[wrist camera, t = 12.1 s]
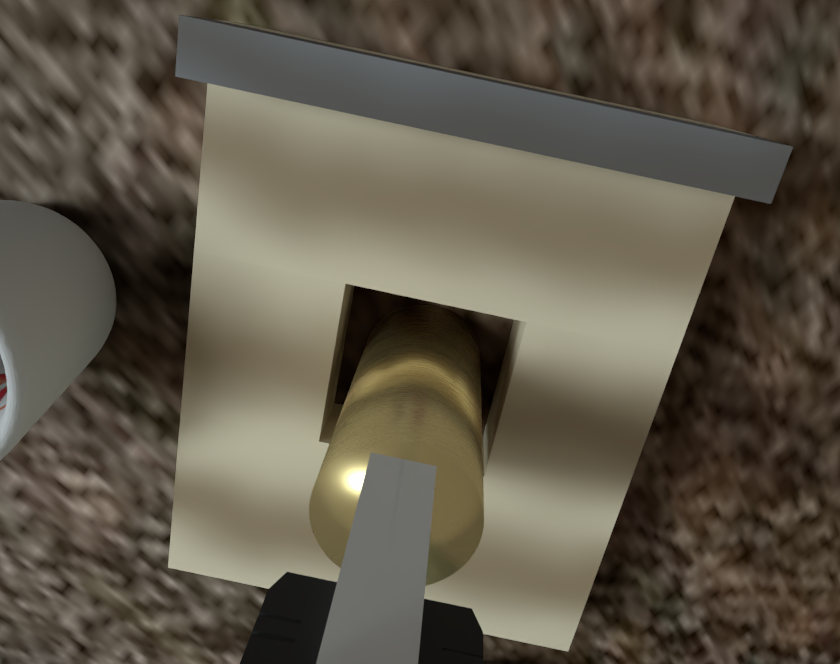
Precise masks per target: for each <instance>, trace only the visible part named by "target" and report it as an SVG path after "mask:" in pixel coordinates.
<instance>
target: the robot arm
mask: <svg viewBox="0 0 840 664" xmlns="http://www.w3.org/2000/svg"><path fill="white" fill-rule="evenodd" d="M436 468H437V466H434V465H429V464H424V463H419V462H415V461H410V460H405V459H400V458H396V457H391V456H386V455H381V454H377V453H372V452H371V454H370V458H369V461H368V465H367V469H366V473H365V477H364V481H363V485H362V488H361V492H360V496H359V500H358V504H357V508H356V512H355V515H354V519H353V523H352V527H351V531H350V535H349V539H348V542H347V546H346V550H345V554H344V558H343V562H342V566H341V569H340V573H339V577H338V581H337V582H334V581H329V580H324V579H319V578H315V577H310V576H305V575H300V574H296V573H291V572H286V573H285V574H284V575H283V576H282V577H281V578H280V579H279V580H278V581H277V582H275V583H274V584H273V585H272V586H271V587H270V588H269V589H268V592H267V594H266V597H265V600H264V602H263V605H262V607H261V610H260V614H259V616H258V618H257V621H256V623H255V626H254V628H253V632H252V635H251V636H250V639H249V641H248V644H247V647H246V649H245V652H244V654H243V657H242V660H241V662H240V664H483V631H482V629H481V627H480V625H479V623H478V620H477V618H476V616H475V614H474V612H473V610H472V609H471V608H467V607H462V606H457V605H452V604H448V603H443V602H438V601H433V600H428V599H424V595H425V584H426V574H427V563H428V552H429V542H430V531H431V521H432V510H433V499H434V489H435V478H436Z"/></svg>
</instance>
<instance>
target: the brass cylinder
mask: <svg viewBox="0 0 840 664" xmlns="http://www.w3.org/2000/svg"><path fill="white" fill-rule="evenodd" d="M371 452H372V453H377V454H381V455H386V456H391V457H396V458H400V459H405V460H410V461H415V462H419V463H424V464H429V465H434V466H437V468H436V478H435V489H434V499H433V510H432V521H431V531H430V542H429V552H428V563H427V574H426V584H425V586H427V585H430V584H434V583H436V582H439V581H441V580H444V579H445V578H447V577H449V576H451V575H453V574H454V573H455V572H457V571H458V570H459V569H461V568H462V567H463V566H464V565H465V564H466V563H467V562H468V561H469V559H470V558H471V557H472V555H473V554H474V553H475V551H476V549H477V547H478V545H479V543H480V540H481V537H482V533H483V528H484V491H483V450H482V409H481V368H480V350H479V346H478V342H477V340H476V338H475V335H474V334H473V332H472V330H471V329H470V328H469V326H468V325H467V324H466V323H465V322H464V321H463V320H462V319H461V318H460V317H458V316H457V315H456V314H454V313H452V312H451V311H449V310H447V309H444V308H442V307H438V306H435V305H428V304H414V305H408V306H403V307H401V308H398V309H396V310H394V311H392V312H390V313H388V314H387V315H386V316H384V317H383V318H382V319H381V320H380V321H379V322H378V323H377V324H376V325H375V327H374V328H373V330H372V331H371V333H370V335H369V337H368V340H367V343H366V345H365V348H364V351H363V353H362V356H361V359H360V362H359V364H358V367H357V370H356V373H355V375H354V378H353V381H352V383H351V386H350V389H349V392H348V394H347V397H346V400H345V403H344V405H343V408H342V411H341V413H340V416H339V419H338V422H337V424H336V427H335V430H334V433H333V435H332V438H331V441H330V443H329V446H328V449H327V452H326V454H325V457H324V460H323V463H322V465H321V468H320V471H319V473H318V476H317V479H316V482H315V484H314V487H313V490H312V493H311V497H310V503H309V519H310V524H311V528H312V531H313V534H314V536H315V539H316V541H317V542H318V544H319V546H320V548H321V549H322V550H323V552H324V553H325V554H326V556H327V557H328V558H329V559H330V560H331V561H332V562H333V563H334V564H336V565H337V566H338V567H339V568H340V569H341V566H342V562H343V558H344V554H345V550H346V546H347V542H348V539H349V535H350V531H351V527H352V523H353V519H354V515H355V512H356V508H357V504H358V500H359V496H360V492H361V488H362V485H363V481H364V477H365V473H366V469H367V465H368V461H369V458H370V454H371Z"/></svg>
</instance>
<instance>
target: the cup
mask: <svg viewBox="0 0 840 664" xmlns="http://www.w3.org/2000/svg"><path fill="white" fill-rule="evenodd" d="M115 313H116V289H115V284H114V279H113V276H112V273H111V270H110V268H109V265H108V263H107V261H106V259H105V258H104V256H103V254H102V252H101V251H100V249H99V248H98V247H97V245H96V244H95V243H94V242H93V240H92V239H91V238H90V237H89V236H88V235H87V234H86V233H85V232H84V231H83V230H82V229H81V228H80V227H78V226H77V225H76V224H75V223H73V222H72V221H70V220H69V219H67V218H66V217H64V216H62V215H61V214H59V213H57V212H55V211H53V210H50V209H48V208H45V207H42V206H39V205H35V204H32V203H28V202H21V201H14V200H0V460H1V459H2V458H3V457H4V456H6V455H7V454H8V453H9V452H10V451H11V450H12V449H13V447H14V446H15V445H16V444H17V443H18V442H19V441H20V440H21V439H22V437H23V436H24V435H25V434H26V433H27V432H28V431H29V430H30V429H31V427H32V426H33V425H34V424H35V423H36V422H37V421H38V420H39V419H40V417H41V416H42V415H43V414H44V413H45V412H46V411H47V410H48V409H49V407H50V406H51V405H52V404H53V403H54V402H55V401H56V400H57V399H58V397H59V396H60V395H61V394H62V393H63V392H64V391H65V390H66V389H67V387H68V386H69V385H70V384H71V383H72V382H73V381H74V380H75V379H76V377H77V376H78V375H79V374H80V373H81V372H82V371H83V370H84V369H85V367H86V366H87V365H88V364H89V363H90V362H91V361H92V360H93V358H94V357H95V356H96V355H97V353H98V352H99V351H100V349H101V348H102V346H103V345H104V343H105V341H106V339H107V338H108V336H109V333H110V331H111V329H112V326H113V323H114V318H115Z"/></svg>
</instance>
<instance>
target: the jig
mask: <svg viewBox="0 0 840 664" xmlns="http://www.w3.org/2000/svg"><path fill="white" fill-rule="evenodd" d="M175 76H176V77H181V78H185V79H190V80H195V81H199V82H204V83H208V86H207V99H206V111H205V123H204V135H203V147H202V160H201V172H200V184H199V196H198V208H197V221H196V233H195V245H194V257H193V270H192V282H191V294H190V306H189V318H188V331H187V343H186V355H185V367H184V379H183V392H182V404H181V416H180V428H179V440H178V453H177V465H176V477H175V489H174V501H173V514H172V526H171V538H170V550H169V562H168V568H173V569H177V570H182V571H187V572H192V573H197V574H201V575H206V576H211V577H216V578H220V579H225V580H230V581H235V582H239V583H244V584H249V585H254V586H258V587H263V588H268V589H269V588H270V587H271V586H272V585H273V584H274V583H275V582H277V581H278V580H279V579H280V578H281V577H282V576H283V575H284V574H285V573H286V572H291V573H296V574H300V575H305V576H310V577H315V578H319V579H324V580H329V581H334V582H337V581H338V577H339V573H340V568H339V567H338V566H337V565H336V564H334V563H333V562H332V561H331V560H330V559H329V558H328V557H327V556H326V554H325V553H324V552H323V550H322V549H321V548H320V546H319V544H318V542H317V541H316V539H315V536H314V534H313V531H312V528H311V524H310V519H309V503H310V497H311V493H312V490H313V487H314V484H315V482H316V479H317V476H318V473H319V471H320V468H321V465H322V463H323V460H324V457H325V454H326V452H327V449H328V446H329V443H330V441H331V438H332V435H333V433H334V430H335V427H336V424H337V422H338V419H339V416H340V413H341V411H342V408H343V405H342V404H337V403H335V397H336V391H337V385H338V379H339V374H340V368H341V362H342V356H343V351H344V345H345V339H346V333H347V327H348V322H349V316H350V310H351V304H352V299H353V293H354V287H355V286H359V287H364V288H368V289H373V290H378V291H383V292H387V293H392V294H397V295H401V296H406V297H411V298H415V299H420V300H425V301H429V302H434V303H439V304H444V305H448V306H453V307H458V308H462V309H467V310H472V311H476V312H481V313H486V314H491V315H495V316H500V317H505V318H509V319H514V321H513V325H512V329H511V333H510V336H509V340H508V344H507V348H506V351H505V355H504V359H503V363H502V366H501V370H500V374H499V377H498V381H497V385H496V389H495V392H494V396H493V400H492V404H491V407H490V411H489V415H488V419H487V422H486V426H485V430H484V434H482V450H483V491H484V528H483V533H482V537H481V540H480V543H479V545H478V547H477V549H476V551H475V553H474V554H473V555H472V557H471V558H470V559H469V561H468V562H467V563H466V564H465V565H464V566H463V567H462V568H461V569H459V570H458V571H457V572H455V573H454V574H453V575H451V576H449V577H447V578H445V579H444V580H441V581H439V582H436V583H434V584H430V585H427V586H425V595H424V599H428V600H433V601H438V602H443V603H448V604H452V605H457V606H462V607H467V608H471V609H472V610H473V612H474V614H475V616H476V618H477V620H478V623H479V625H480V627H481V629H482V631H483V634H487V635H492V636H496V637H501V638H506V639H511V640H516V641H520V642H525V643H530V644H535V645H539V646H544V647H549V648H554V649H558V650H563V651H568V650H569V648H570V645H571V642H572V639H573V637H574V634H575V631H576V629H577V626H578V623H579V620H580V618H581V615H582V612H583V609H584V607H585V604H586V601H587V599H588V596H589V593H590V590H591V588H592V585H593V582H594V579H595V577H596V574H597V571H598V569H599V566H600V563H601V560H602V558H603V555H604V552H605V549H606V547H607V544H608V541H609V539H610V536H611V533H612V530H613V528H614V525H615V522H616V520H617V517H618V514H619V511H620V509H621V506H622V503H623V500H624V498H625V495H626V492H627V490H628V487H629V484H630V481H631V479H632V476H633V473H634V470H635V468H636V465H637V462H638V460H639V457H640V454H641V451H642V449H643V446H644V443H645V440H646V438H647V435H648V432H649V430H650V427H651V424H652V421H653V419H654V416H655V413H656V410H657V408H658V405H659V402H660V400H661V397H662V394H663V391H664V389H665V386H666V383H667V381H668V378H669V375H670V372H671V370H672V367H673V364H674V361H675V359H676V356H677V353H678V351H679V348H680V345H681V342H682V340H683V337H684V334H685V331H686V329H687V326H688V323H689V321H690V318H691V315H692V312H693V310H694V307H695V304H696V301H697V299H698V296H699V293H700V291H701V288H702V285H703V282H704V280H705V277H706V274H707V272H708V269H709V266H710V263H711V261H712V258H713V255H714V252H715V250H716V247H717V244H718V242H719V239H720V236H721V233H722V231H723V228H724V225H725V222H726V220H727V217H728V214H729V212H730V209H731V206H732V203H733V201H734V198H735V196H736V197H741V198H745V199H750V200H755V201H759V202H764V203H769V204H771V203H772V200H773V198H774V195H775V193H776V190H777V187H778V185H779V182H780V180H781V177H782V175H783V172H784V169H785V167H786V164H787V162H788V159H789V156H790V154H791V151H792V149H793V147H792V146H789V145H785V144H782V143H778V142H775V141H772V140H768V139H765V138H761V137H758V136H754V135H751V134H747V133H744V132H740V131H737V130H733V129H730V128H727V127H723V126H718V125H714V124H709V123H704V122H700V121H695V120H691V119H686V118H681V117H677V116H672V115H667V114H663V113H658V112H653V111H649V110H644V109H639V108H635V107H630V106H625V105H621V104H616V103H611V102H607V101H602V100H597V99H593V98H588V97H583V96H579V95H574V94H570V93H565V92H560V91H556V90H551V89H546V88H542V87H537V86H532V85H528V84H523V83H518V82H514V81H509V80H504V79H500V78H495V77H490V76H486V75H481V74H476V73H472V72H467V71H463V70H458V69H453V68H449V67H444V66H439V65H435V64H430V63H425V62H421V61H416V60H411V59H407V58H402V57H397V56H393V55H388V54H383V53H379V52H374V51H369V50H365V49H360V48H355V47H351V46H346V45H342V44H337V43H332V42H328V41H323V40H318V39H314V38H309V37H304V36H300V35H295V34H290V33H286V32H281V31H276V30H272V29H267V28H262V27H258V26H253V25H248V24H243V23H236V22H229V21H221V20H214V19H206V18H199V17H191V16H184V15H179V28H178V43H177V58H176V74H175Z"/></svg>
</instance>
